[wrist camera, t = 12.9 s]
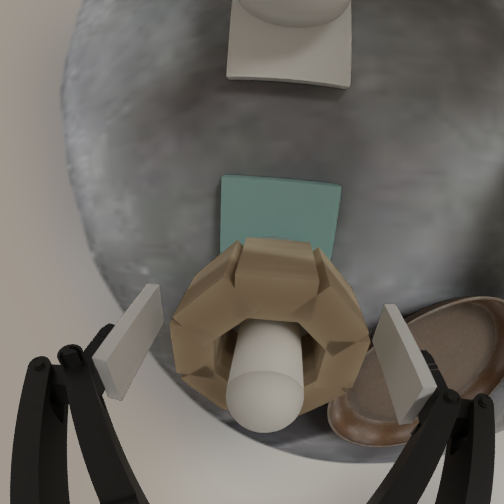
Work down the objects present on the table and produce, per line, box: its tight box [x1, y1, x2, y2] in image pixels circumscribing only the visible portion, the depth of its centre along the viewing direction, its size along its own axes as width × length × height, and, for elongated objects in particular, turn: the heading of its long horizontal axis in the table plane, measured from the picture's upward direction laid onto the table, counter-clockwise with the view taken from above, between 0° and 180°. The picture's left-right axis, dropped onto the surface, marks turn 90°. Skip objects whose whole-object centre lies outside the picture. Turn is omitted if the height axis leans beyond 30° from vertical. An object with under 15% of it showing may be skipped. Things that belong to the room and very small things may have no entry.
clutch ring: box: [169, 237, 371, 416], centre depth 15 cm, size 9×9×4 cm
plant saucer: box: [327, 296, 504, 447], centre depth 21 cm, size 21×21×3 cm
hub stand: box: [220, 175, 342, 433], centre depth 15 cm, size 14×7×12 cm, turn 177°
